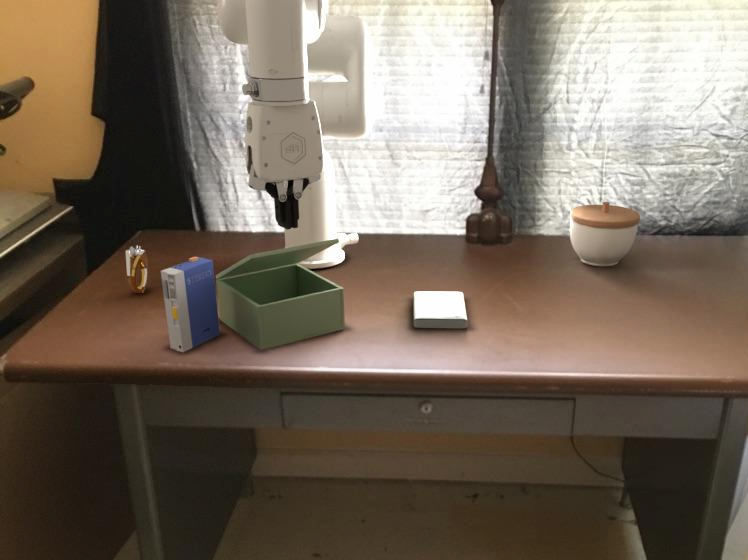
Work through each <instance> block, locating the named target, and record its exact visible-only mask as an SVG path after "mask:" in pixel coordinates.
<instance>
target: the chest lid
mask: <svg viewBox="0 0 748 560" xmlns="http://www.w3.org/2000/svg"><path fill="white" fill-rule="evenodd" d="M337 243H339V239H332V240H327V241H321V242H316V243H311V244H305V245H300V246H294V247H289V248H285V247H284V248H279V249H274V250H273V249H272V250H267V251H263V252H258V253H257V252H256V253H252V254H249V255H247V256H246V257H244V258H241V260H239V261H237V262H236V263H234V264H232V265H231V266H229V267H227V268H226V269H224V270H222V271H221V272H219V273H217V274H215V278H216V280H218V279H223V278H228V277H233V276H238V275H243V274H248V273H253V272H258V271H264V270H269V269H274V268H279V267H284V266H287V265H292V264H297V263H300V262H302V261H303V260H305V259H307V258H309V257H311V256H313V255H315V254H317V253H319V252H321V251H323V250H325V249H327V248H329V247H331V246H333V245H335V244H337Z"/></svg>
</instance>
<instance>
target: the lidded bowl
mask: <svg viewBox="0 0 748 560" xmlns="http://www.w3.org/2000/svg"><path fill="white" fill-rule="evenodd" d="M569 212H570V213H569V218H570V220H569V238H570V239H569V240H570V244H571V247H572V249H573V251H574V252H575V254H576V255H577V256H578V257H579V260H580V262H582V263H584V264H586V265H590V266H596V267H610V266H611V267H612V266H616V265H618V264H619V263H620V261H621V260H623V259H624V258H625V257H626V256H627V255H628V254H629V253H630V251H631V250H632V248H633V246H634V244H635V241H636V238H637V233H638V230H639V229H638V228H639V223H640V220H641V215H640V213H639V212H637V211H636V210H634V209H632V208H628V207H624V206H619V205H614V204H613V205H612V204H610V201H602V204H584V205H579V206H576V207H573V208H572V209H571V210H570V211H569Z"/></svg>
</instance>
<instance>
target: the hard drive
mask: <svg viewBox="0 0 748 560" xmlns="http://www.w3.org/2000/svg"><path fill="white" fill-rule="evenodd" d="M413 327H414V328H418V329H466V328H468V316H467V309H466V303H465V297H464V293H463V291H437V290H436V291H431V290H429V291H426V290H425V291H420V290H419V291H414V292H413Z"/></svg>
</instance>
